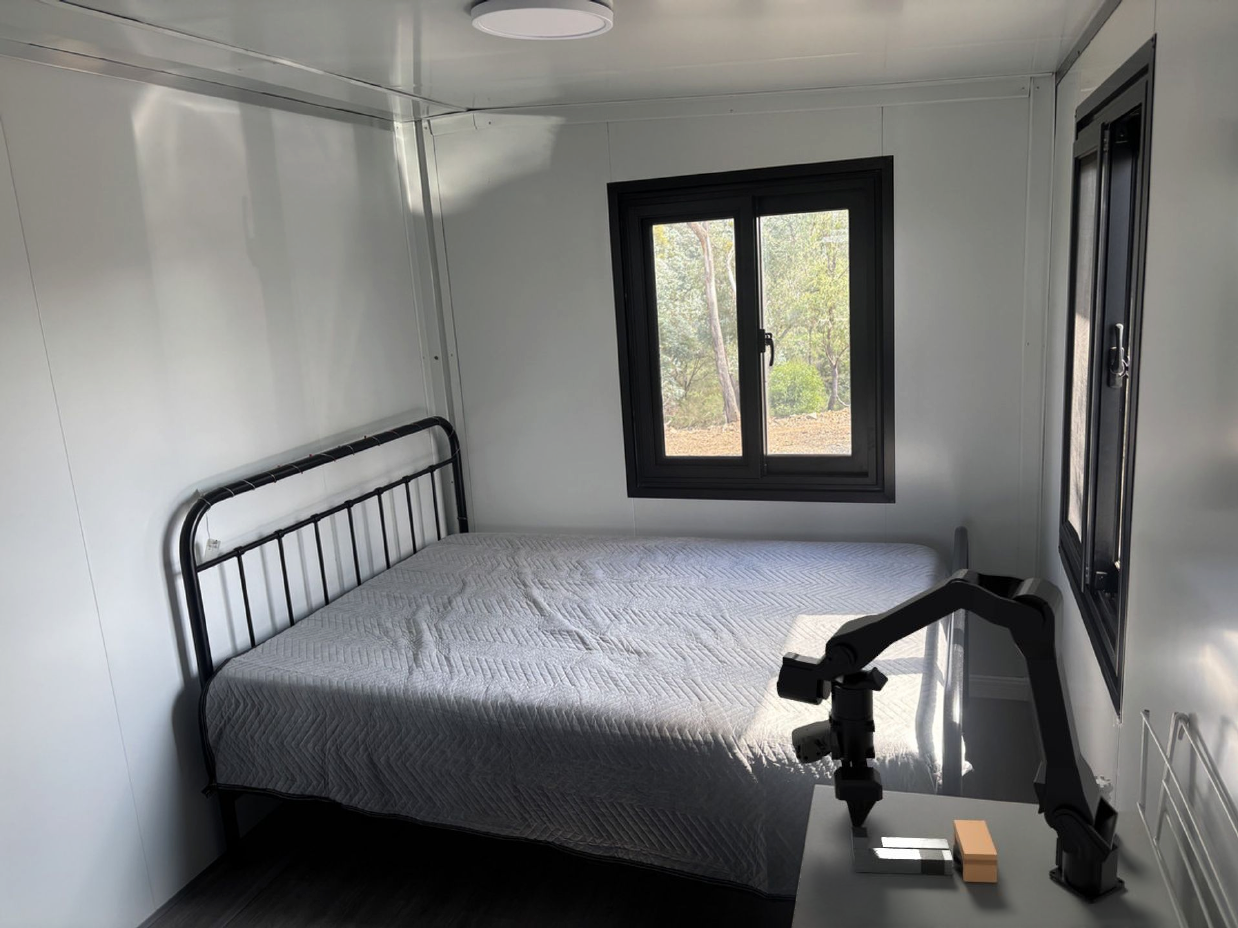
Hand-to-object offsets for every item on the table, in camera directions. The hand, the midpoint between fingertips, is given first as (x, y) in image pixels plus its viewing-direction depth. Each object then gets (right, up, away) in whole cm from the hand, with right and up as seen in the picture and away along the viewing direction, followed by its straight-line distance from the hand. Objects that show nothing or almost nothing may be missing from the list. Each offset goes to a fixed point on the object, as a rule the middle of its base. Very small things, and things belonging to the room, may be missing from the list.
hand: (853, 808), depth 138 cm
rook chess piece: (+32, -1, -6) cm, 33 cm away
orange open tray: (+13, -3, -12) cm, 18 cm away
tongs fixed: (+8, -4, -11) cm, 14 cm away
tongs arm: (+4, -4, -10) cm, 11 cm away
